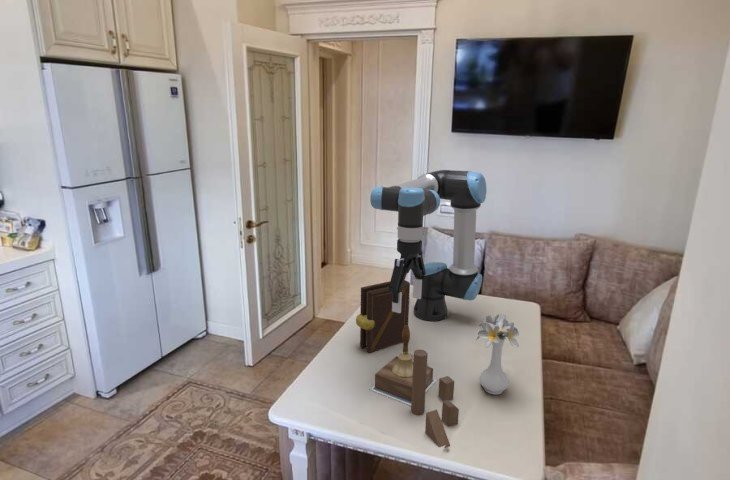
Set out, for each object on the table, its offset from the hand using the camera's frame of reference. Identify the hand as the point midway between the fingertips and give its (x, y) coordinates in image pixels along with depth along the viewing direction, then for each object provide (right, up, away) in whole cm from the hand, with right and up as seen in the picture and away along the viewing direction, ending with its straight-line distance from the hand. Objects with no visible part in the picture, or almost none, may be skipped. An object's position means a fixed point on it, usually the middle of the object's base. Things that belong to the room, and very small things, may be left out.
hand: (407, 304), depth 140 cm
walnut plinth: (0, -28, +7) cm, 29 cm away
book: (-7, -21, +33) cm, 40 cm away
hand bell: (0, -23, +6) cm, 23 cm away
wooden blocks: (+10, -33, -9) cm, 35 cm away
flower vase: (+29, -29, +7) cm, 41 cm away
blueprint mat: (0, -28, +7) cm, 29 cm away
